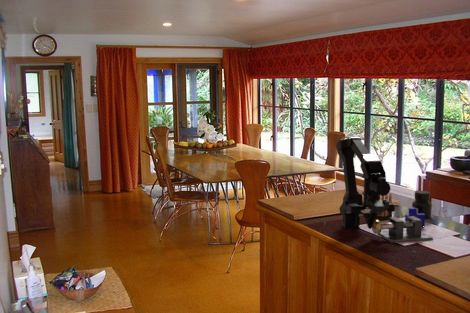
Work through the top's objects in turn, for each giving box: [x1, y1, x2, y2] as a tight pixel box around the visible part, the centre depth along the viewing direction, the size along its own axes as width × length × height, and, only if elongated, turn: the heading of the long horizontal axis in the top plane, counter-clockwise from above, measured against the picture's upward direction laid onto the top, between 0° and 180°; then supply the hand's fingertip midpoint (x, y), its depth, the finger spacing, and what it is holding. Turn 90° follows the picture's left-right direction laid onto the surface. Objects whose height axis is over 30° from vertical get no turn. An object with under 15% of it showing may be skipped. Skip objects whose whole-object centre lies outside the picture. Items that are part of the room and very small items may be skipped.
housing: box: [378, 216, 434, 243], centre depth 209 cm, size 18×12×8 cm, turn 101°
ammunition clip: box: [375, 192, 393, 220], centre depth 238 cm, size 11×2×12 cm, turn 89°
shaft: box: [371, 219, 413, 235], centre depth 208 cm, size 16×6×6 cm, turn 101°
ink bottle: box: [411, 190, 433, 220], centre depth 240 cm, size 10×9×12 cm
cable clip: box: [404, 207, 426, 228], centre depth 229 cm, size 12×4×6 cm, turn 0°
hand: (369, 228), depth 206 cm, fingers closed
